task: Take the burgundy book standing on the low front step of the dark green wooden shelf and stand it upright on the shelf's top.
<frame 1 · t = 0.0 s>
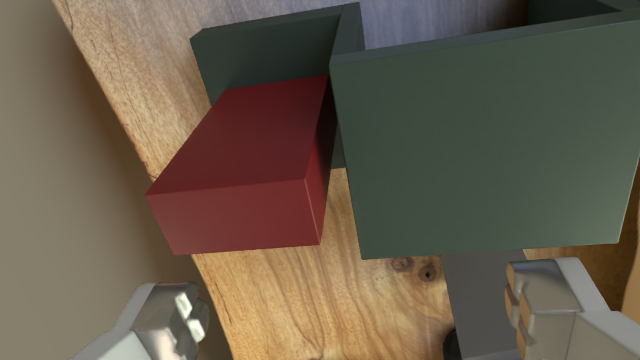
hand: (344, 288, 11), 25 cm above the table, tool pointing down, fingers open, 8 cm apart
shelf: (379, 79, 34), on the table
book: (281, 106, 33), point 3 cm above the table, touching shelf
perfume bottle: (479, 250, 42), on the table
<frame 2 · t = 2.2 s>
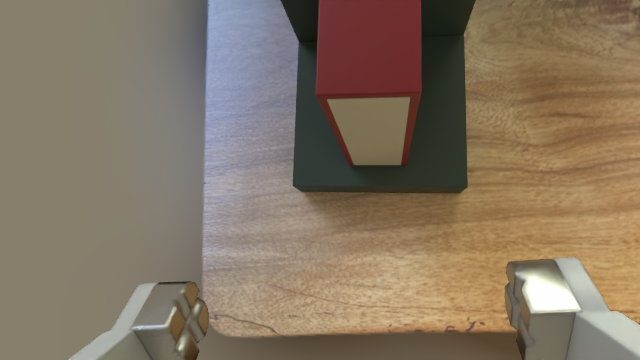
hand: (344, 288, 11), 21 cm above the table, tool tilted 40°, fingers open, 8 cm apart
shelf: (379, 32, 34), on the table
book: (378, 110, 30), point 3 cm above the table, touching shelf
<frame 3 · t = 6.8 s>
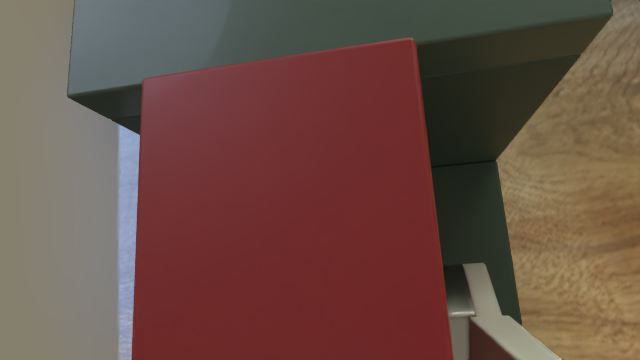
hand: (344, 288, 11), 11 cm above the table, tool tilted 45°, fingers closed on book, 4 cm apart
shelf: (363, 150, 23), on the table
book: (370, 296, 18), point 3 cm above the table, touching gripper, shelf
when the fingers open (22 cm above the table, at t = 13.9 s): book stays where it is, resting on shelf.
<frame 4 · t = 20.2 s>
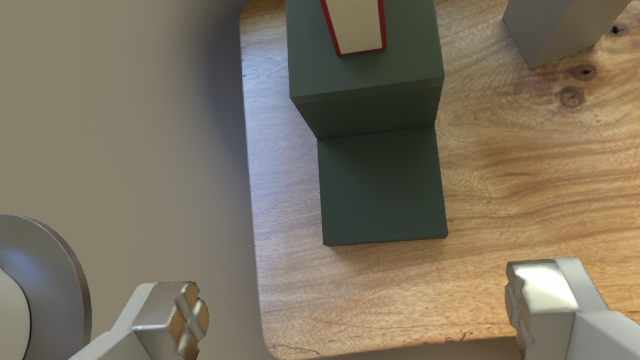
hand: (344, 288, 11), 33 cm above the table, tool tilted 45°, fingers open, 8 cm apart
shelf: (374, 123, 47), on the table
book: (357, 8, 34), point 14 cm above the table, touching shelf
perfume bottle: (546, 32, 45), on the table
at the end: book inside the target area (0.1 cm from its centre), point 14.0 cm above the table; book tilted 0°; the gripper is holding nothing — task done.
